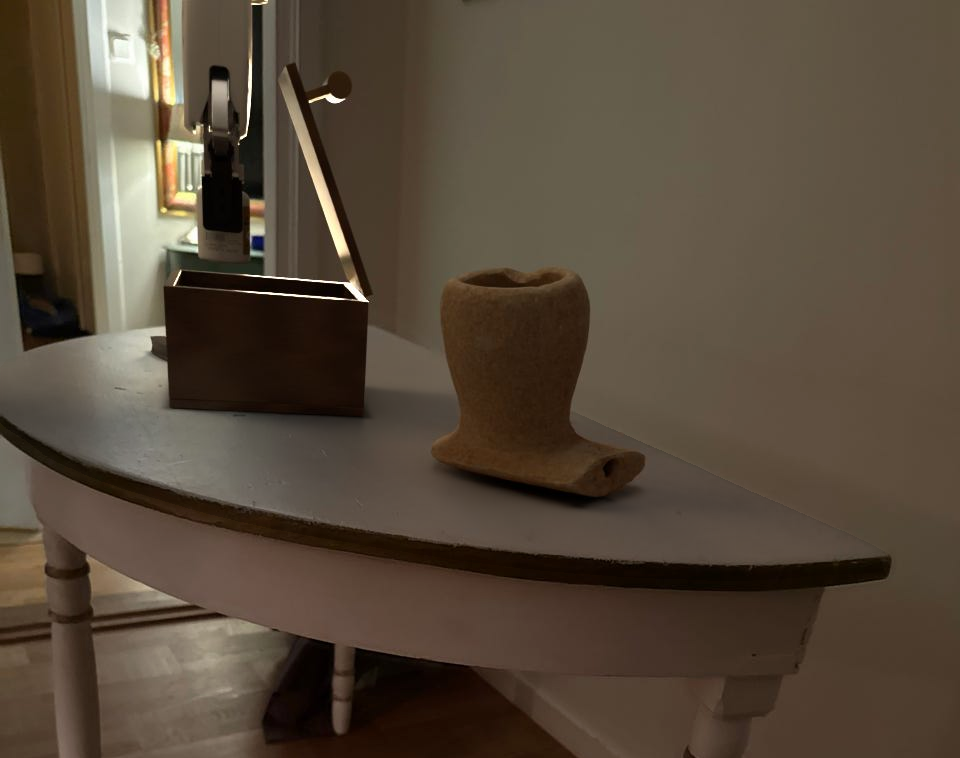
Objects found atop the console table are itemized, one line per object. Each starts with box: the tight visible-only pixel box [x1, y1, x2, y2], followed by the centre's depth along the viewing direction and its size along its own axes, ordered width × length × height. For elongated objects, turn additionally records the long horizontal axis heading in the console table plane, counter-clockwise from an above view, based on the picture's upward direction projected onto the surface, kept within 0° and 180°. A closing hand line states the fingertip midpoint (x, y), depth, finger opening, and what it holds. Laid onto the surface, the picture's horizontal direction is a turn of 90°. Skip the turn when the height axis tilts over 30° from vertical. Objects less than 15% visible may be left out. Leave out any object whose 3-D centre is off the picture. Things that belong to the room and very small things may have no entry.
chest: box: [162, 268, 370, 417], centre depth 83 cm, size 17×14×10 cm
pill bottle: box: [196, 159, 251, 265], centre depth 78 cm, size 4×4×8 cm
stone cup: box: [430, 266, 646, 498], centre depth 65 cm, size 15×12×15 cm
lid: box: [277, 61, 374, 298], centre depth 79 cm, size 17×14×5 cm
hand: (223, 227), depth 78 cm, fingers closed on pill bottle, 4 cm apart
